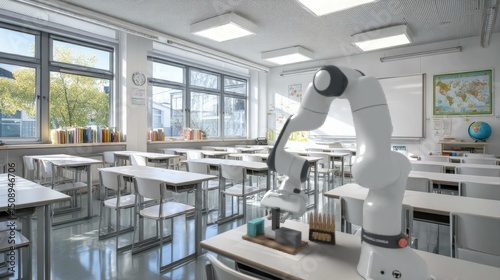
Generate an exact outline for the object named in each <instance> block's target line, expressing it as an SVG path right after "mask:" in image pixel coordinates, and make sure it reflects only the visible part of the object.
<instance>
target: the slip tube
mask: <svg viewBox="0 0 500 280" xmlns="http://www.w3.org/2000/svg"><path fill="white" fill-rule="evenodd" d="M271 215H272V220H271V225H269V226H267V227H264V230H265V237H269V238H272V239H275V230H276V229H278V228H280V227H281V223H280V221H279V220H280V218H281V213H280V208H279V207H274V208H272V213H271Z"/></svg>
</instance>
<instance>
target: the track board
mask: <svg viewBox="0 0 500 280" xmlns="http://www.w3.org/2000/svg"><path fill="white" fill-rule="evenodd" d="M302 234H303V233H302V231H300V230H296V229H293V228H289V227H284V226H280V228H278V229H276V230H275V239H272V238H269V237H265V229H264V233H260V232H256V236H255V237H251V236H248V235H247V233H246V234H244V235H241V239H243V240H245V241H247V242H248V241H249V242H252V243H255V244H258V245H260V246H261V245H262V246H263V247H268V248H270V249H274V250H276V251H280V252H283V253H286V254H289V255H294V254H297V252H299V251H301V250H302V249H304V248H305V247H307V246H308V245H309V241H305V240H302V236H303V235H302ZM306 245H307V246H306ZM303 247H304V248H303Z"/></svg>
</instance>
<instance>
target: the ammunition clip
mask: <svg viewBox="0 0 500 280" xmlns="http://www.w3.org/2000/svg"><path fill="white" fill-rule="evenodd" d="M313 215H314V216H313ZM322 216H323V217H322ZM335 218H336V217H335V215H334V214H332V217H331V215H330V213H328V214H327V216H326V213H324V212H323V215H322V213H321V212H319V215H318V214H317V212H314V214H313V212H312V211H311V212H310V213H309V221H308V222H309V223H308V225H309V226H308V228H309V229H308V240H310V241H309V242H313V241H315V242H314V243H319V242H320V244H325V245H326V244H327V245H330V244H331V246H336V242H337V241H336V240H337V239H336V222H335V221H336V220H335Z"/></svg>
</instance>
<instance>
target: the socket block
mask: <svg viewBox="0 0 500 280" xmlns="http://www.w3.org/2000/svg"><path fill="white" fill-rule="evenodd" d="M264 230H265V219H264V218H260V217H256V218H254V219H252V220H249V221H247V222H246V232H247V233H246V234H247V235H248V236H251V237H255V236H256V232H260V233H264Z"/></svg>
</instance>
